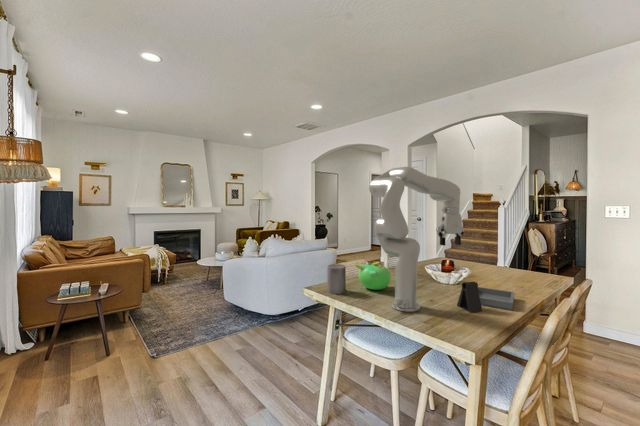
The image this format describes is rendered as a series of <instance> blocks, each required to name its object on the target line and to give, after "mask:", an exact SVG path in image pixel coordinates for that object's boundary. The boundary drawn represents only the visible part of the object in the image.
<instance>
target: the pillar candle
mask: <svg viewBox="0 0 640 426" xmlns="http://www.w3.org/2000/svg"><path fill="white" fill-rule="evenodd" d="M326 267H327V269H326V271H327V277H326V279H327V284H326V285H327V290H326V291H327V293H328V294H331V295H343V294H345V293H346V291H347V288H346V287H347V285H346V283H347V282H346V278H347V277H346V272H347V271H346V265H345V264H340V263H339V264H338V263H334V264H333V263H331V264H329V265H327V266H326Z"/></svg>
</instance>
